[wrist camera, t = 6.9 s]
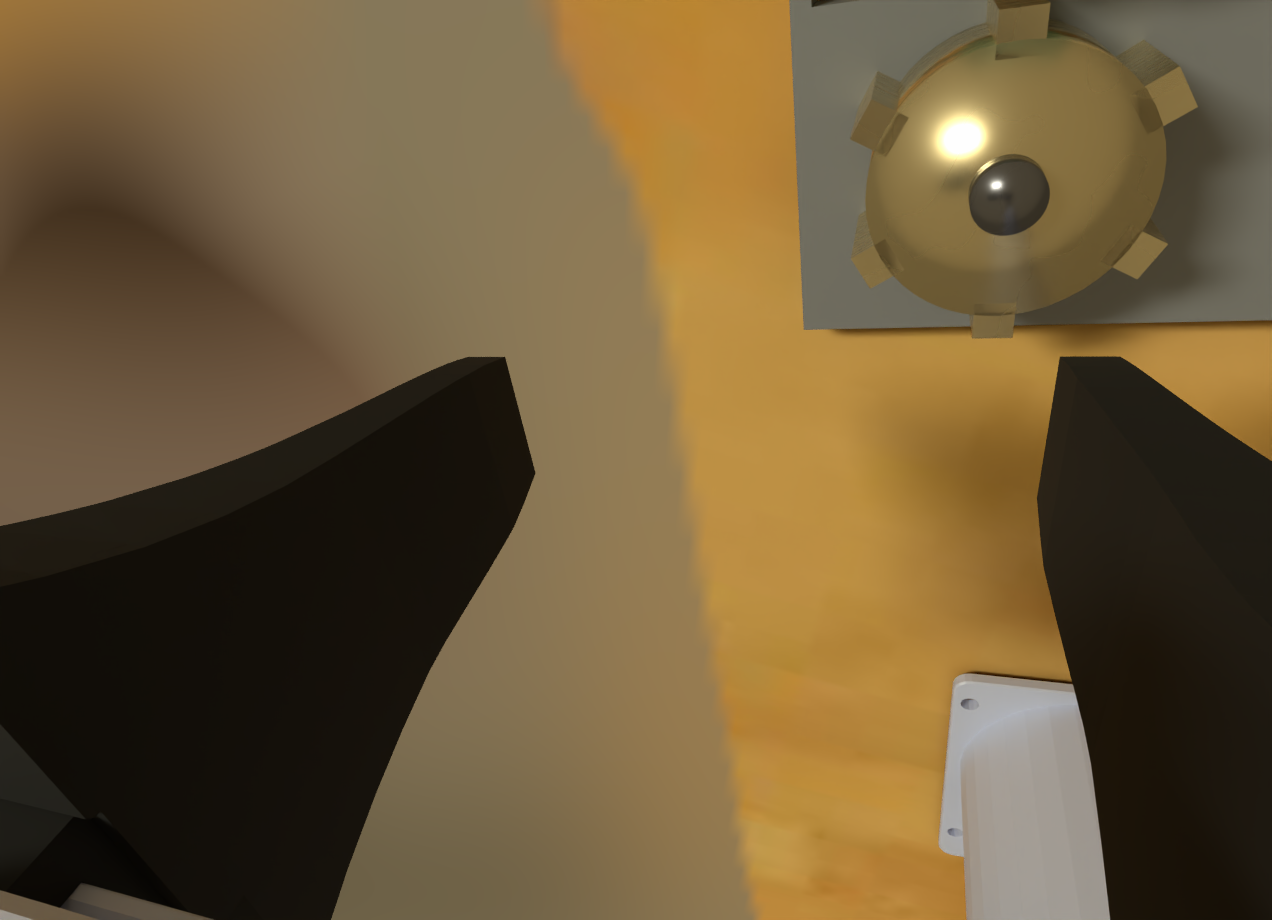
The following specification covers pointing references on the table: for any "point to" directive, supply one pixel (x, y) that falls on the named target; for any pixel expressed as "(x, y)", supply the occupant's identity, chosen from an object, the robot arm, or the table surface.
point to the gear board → (1033, 162)
